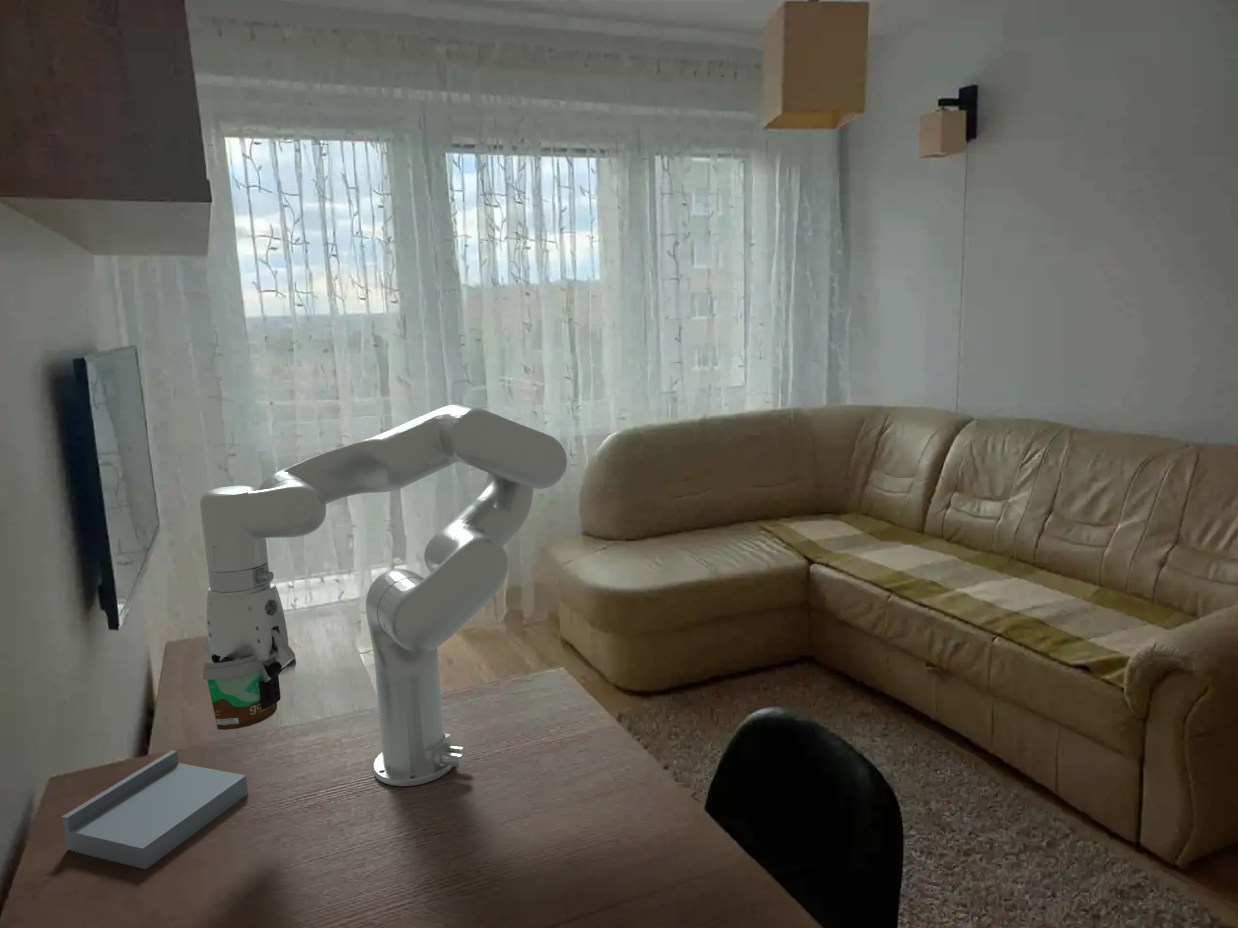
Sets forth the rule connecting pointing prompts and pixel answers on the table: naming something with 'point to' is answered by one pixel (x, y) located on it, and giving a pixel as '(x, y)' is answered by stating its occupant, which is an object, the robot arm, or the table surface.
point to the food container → (237, 692)
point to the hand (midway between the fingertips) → (253, 700)
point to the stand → (151, 811)
